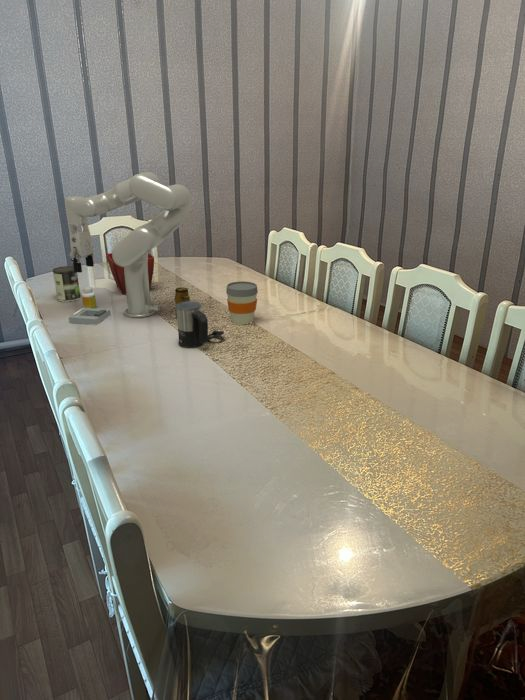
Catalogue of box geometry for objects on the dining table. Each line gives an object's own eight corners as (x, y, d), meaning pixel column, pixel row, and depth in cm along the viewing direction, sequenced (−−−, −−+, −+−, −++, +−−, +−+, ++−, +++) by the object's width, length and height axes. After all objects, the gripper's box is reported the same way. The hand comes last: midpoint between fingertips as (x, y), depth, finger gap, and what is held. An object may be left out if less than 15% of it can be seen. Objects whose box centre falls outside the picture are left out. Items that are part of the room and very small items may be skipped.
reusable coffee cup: (244, 328, 203) (244, 292, 197) (220, 322, 210) (219, 286, 204) (264, 320, 212) (264, 284, 206) (240, 313, 219) (239, 279, 213)
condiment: (186, 312, 221) (184, 285, 216) (197, 317, 215) (195, 290, 210) (171, 316, 217) (169, 288, 212) (181, 321, 211) (179, 293, 206)
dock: (110, 315, 218) (109, 307, 217) (96, 325, 207) (95, 317, 206) (84, 313, 220) (83, 305, 219) (69, 323, 209) (68, 315, 208)
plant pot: (109, 287, 256) (105, 253, 249) (148, 282, 263) (145, 249, 256) (117, 297, 240) (112, 262, 233) (157, 292, 247) (154, 257, 240)
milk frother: (172, 345, 188) (169, 306, 182) (197, 331, 201) (195, 294, 195) (205, 352, 182) (203, 313, 176) (228, 337, 195) (227, 300, 189)
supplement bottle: (92, 311, 222) (89, 290, 218) (81, 311, 223) (78, 289, 219) (99, 307, 226) (96, 286, 223) (87, 307, 227) (84, 285, 224)
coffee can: (84, 295, 243) (79, 265, 237) (76, 302, 234) (71, 271, 228) (62, 295, 243) (57, 265, 238) (53, 302, 234) (48, 271, 228)
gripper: (76, 232, 202) (82, 275, 209) (97, 224, 218) (102, 264, 225) (58, 231, 203) (65, 274, 210) (81, 224, 219) (86, 263, 226)
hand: (84, 269), depth 217 cm, fingers open, 9 cm apart
